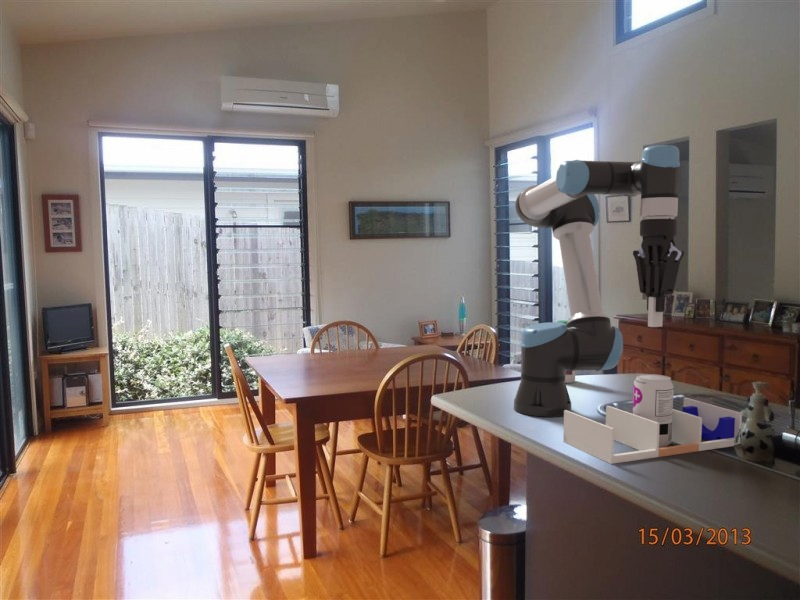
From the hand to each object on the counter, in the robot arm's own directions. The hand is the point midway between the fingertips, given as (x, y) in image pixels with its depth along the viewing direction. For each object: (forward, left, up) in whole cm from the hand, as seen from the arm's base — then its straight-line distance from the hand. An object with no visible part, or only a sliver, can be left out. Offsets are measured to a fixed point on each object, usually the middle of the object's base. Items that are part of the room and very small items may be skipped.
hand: (655, 326), depth 141 cm
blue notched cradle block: (+15, -1, -27) cm, 31 cm away
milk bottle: (+22, +64, -27) cm, 73 cm away
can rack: (0, 0, -26) cm, 26 cm away
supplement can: (0, 0, -27) cm, 27 cm away
